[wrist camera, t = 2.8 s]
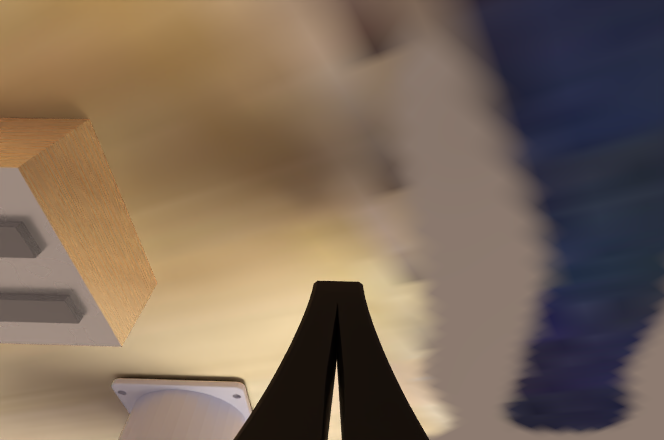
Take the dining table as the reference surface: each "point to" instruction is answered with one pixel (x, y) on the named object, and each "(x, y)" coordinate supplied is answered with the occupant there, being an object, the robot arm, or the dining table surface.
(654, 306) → the dining table surface
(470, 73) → the dining table surface
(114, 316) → the block with grey stripes
